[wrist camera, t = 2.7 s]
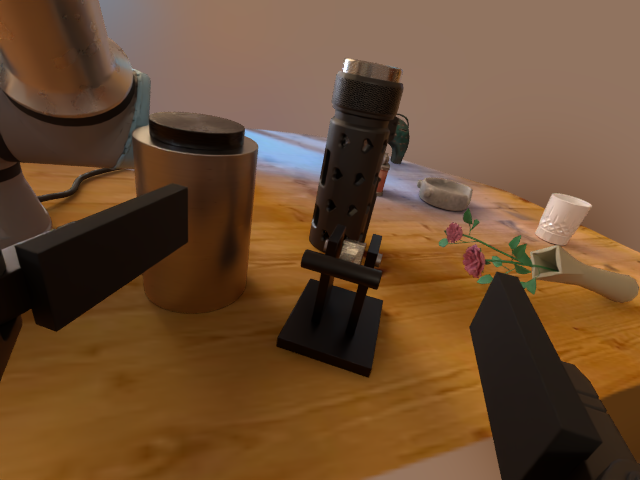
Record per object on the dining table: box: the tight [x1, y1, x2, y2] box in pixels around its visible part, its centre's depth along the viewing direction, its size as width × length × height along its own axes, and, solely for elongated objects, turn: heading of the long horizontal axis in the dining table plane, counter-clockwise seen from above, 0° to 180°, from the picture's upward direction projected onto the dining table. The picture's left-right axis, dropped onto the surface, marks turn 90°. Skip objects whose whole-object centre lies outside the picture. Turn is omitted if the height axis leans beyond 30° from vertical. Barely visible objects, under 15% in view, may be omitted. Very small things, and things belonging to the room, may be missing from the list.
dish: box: [417, 178, 472, 211], centre depth 89 cm, size 14×14×5 cm
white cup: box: [535, 193, 592, 245], centre depth 78 cm, size 8×8×10 cm
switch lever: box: [301, 238, 382, 290], centre depth 31 cm, size 12×6×2 cm, turn 165°
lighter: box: [376, 153, 390, 196], centre depth 87 cm, size 8×3×10 cm, turn 179°
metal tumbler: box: [132, 112, 258, 313], centre depth 38 cm, size 12×12×20 cm
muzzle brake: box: [309, 58, 403, 254], centre depth 52 cm, size 10×28×10 cm
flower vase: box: [439, 208, 639, 303], centre depth 53 cm, size 12×12×35 cm
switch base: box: [276, 224, 383, 378], centre depth 37 cm, size 12×10×12 cm
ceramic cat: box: [388, 114, 409, 164], centre depth 116 cm, size 20×6×20 cm, turn 107°
